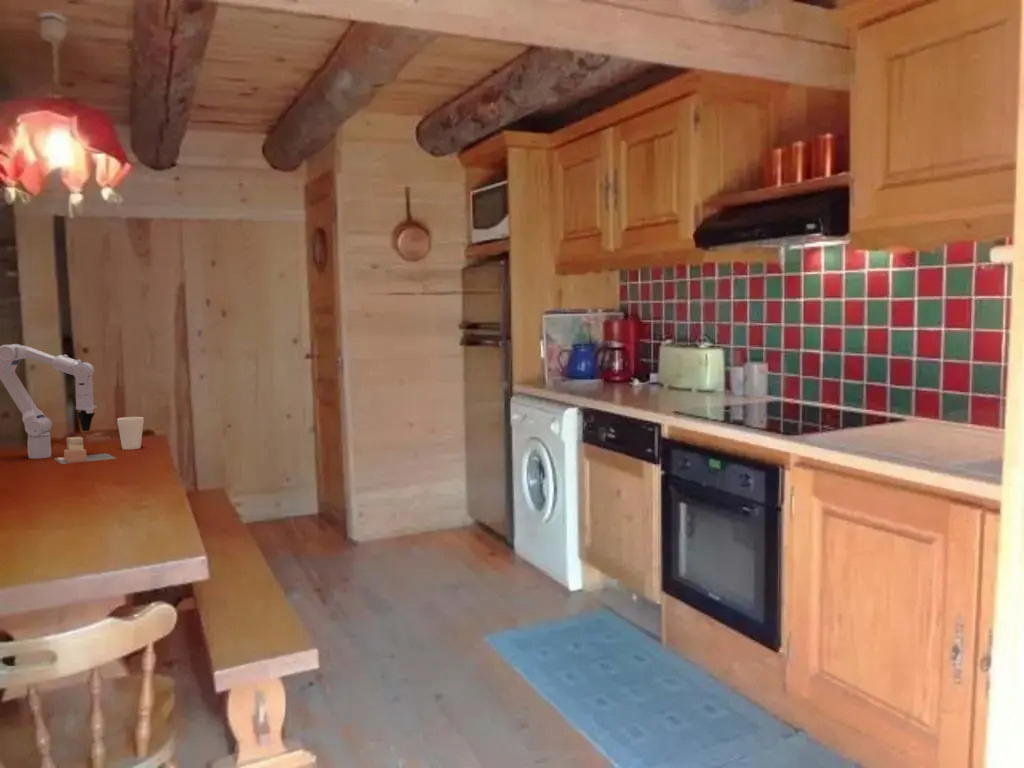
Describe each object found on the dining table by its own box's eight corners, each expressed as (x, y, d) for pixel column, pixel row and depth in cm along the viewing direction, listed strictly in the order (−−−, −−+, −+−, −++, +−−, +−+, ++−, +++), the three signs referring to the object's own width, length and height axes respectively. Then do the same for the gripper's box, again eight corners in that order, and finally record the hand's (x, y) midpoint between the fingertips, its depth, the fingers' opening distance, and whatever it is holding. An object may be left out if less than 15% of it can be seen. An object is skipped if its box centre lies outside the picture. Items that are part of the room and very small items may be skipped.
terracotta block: (64, 460, 289) (63, 449, 289) (82, 458, 293) (82, 448, 293) (68, 463, 285) (67, 451, 284) (86, 461, 289) (86, 450, 288)
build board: (53, 461, 294) (53, 458, 294) (106, 455, 305) (106, 453, 305) (62, 466, 283) (62, 463, 283) (117, 460, 295) (116, 458, 295)
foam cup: (120, 449, 321) (119, 417, 320) (145, 448, 324) (144, 416, 323) (116, 453, 312) (115, 420, 311) (142, 451, 315) (141, 419, 314)
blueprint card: (56, 458, 294) (56, 457, 294) (77, 456, 299) (77, 455, 299) (60, 460, 290) (60, 459, 290) (81, 458, 294) (81, 457, 294)
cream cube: (67, 449, 289) (66, 437, 289) (80, 448, 292) (80, 436, 291) (69, 451, 286) (69, 439, 285) (83, 450, 288) (82, 438, 288)
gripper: (101, 395, 296) (102, 431, 297) (91, 392, 307) (92, 427, 308) (80, 396, 291) (81, 433, 292) (70, 393, 302) (72, 429, 303)
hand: (85, 430), depth 300 cm, fingers closed
